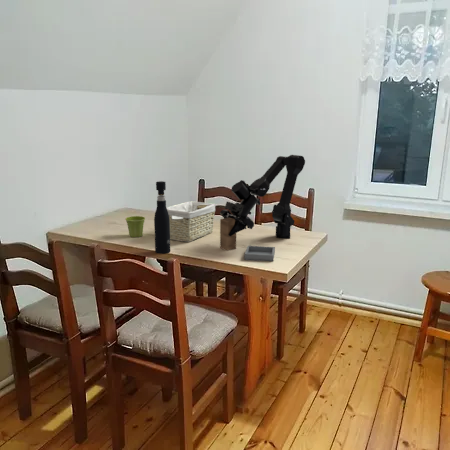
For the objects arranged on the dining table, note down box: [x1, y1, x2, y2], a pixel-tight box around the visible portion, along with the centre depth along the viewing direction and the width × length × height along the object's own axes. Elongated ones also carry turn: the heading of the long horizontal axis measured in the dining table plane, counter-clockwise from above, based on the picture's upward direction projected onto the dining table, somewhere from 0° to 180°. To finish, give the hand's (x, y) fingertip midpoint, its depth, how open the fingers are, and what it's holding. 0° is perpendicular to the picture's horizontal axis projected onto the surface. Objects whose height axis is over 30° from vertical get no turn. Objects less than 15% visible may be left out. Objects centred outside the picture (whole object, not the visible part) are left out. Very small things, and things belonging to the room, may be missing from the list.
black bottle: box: [153, 180, 171, 255], centre depth 190 cm, size 6×6×30 cm
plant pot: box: [124, 215, 146, 238], centre depth 217 cm, size 9×9×9 cm
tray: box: [244, 245, 276, 262], centre depth 188 cm, size 12×12×2 cm
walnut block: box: [219, 218, 237, 251], centre depth 197 cm, size 5×5×13 cm
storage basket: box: [166, 200, 216, 243], centre depth 217 cm, size 24×16×15 cm
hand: (225, 234), depth 196 cm, fingers closed on walnut block, 5 cm apart
